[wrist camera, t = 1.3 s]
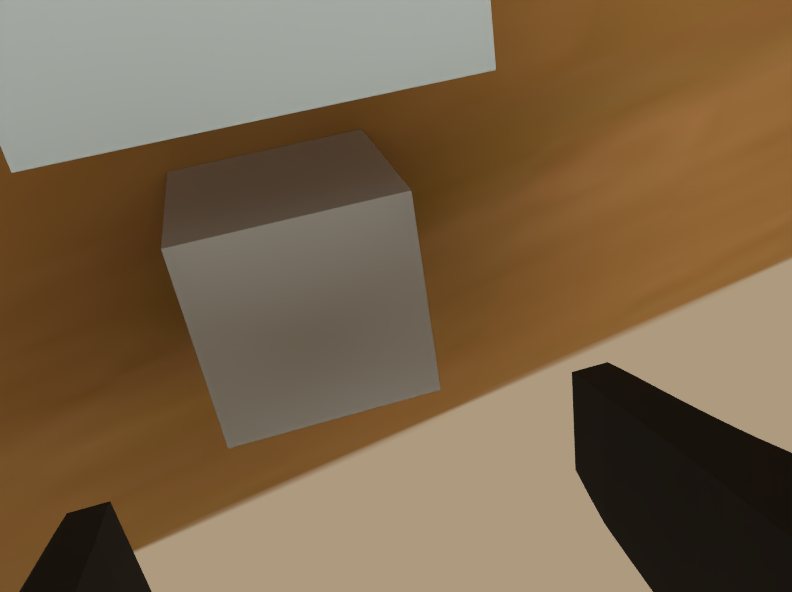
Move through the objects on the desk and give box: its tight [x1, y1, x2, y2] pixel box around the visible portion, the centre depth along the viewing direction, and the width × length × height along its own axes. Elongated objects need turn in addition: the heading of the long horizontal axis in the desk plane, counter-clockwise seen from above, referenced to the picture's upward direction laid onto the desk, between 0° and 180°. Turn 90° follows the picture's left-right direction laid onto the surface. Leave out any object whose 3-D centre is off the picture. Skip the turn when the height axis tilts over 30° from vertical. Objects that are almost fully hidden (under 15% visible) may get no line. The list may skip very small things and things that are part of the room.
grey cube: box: [161, 129, 441, 449], centre depth 18 cm, size 5×5×5 cm
